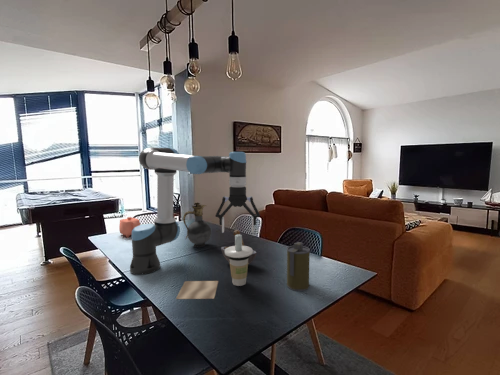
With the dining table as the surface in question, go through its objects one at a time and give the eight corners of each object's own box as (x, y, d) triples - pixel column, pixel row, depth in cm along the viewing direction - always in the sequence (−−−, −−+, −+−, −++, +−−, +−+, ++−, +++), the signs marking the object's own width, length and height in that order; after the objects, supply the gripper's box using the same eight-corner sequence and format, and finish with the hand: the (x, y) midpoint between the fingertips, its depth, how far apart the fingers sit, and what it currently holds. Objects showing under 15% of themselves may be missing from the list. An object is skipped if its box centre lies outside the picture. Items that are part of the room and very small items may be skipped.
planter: (220, 262, 150) (219, 227, 148) (248, 258, 156) (247, 224, 154) (227, 272, 136) (227, 234, 134) (257, 267, 142) (257, 231, 140)
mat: (175, 299, 110) (175, 298, 110) (184, 282, 126) (184, 281, 126) (214, 299, 110) (214, 298, 110) (218, 281, 126) (218, 280, 126)
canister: (293, 278, 129) (294, 238, 127) (313, 284, 122) (314, 242, 120) (281, 286, 121) (281, 244, 118) (302, 294, 114) (302, 249, 112)
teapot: (116, 233, 209) (115, 216, 208) (132, 230, 218) (131, 213, 217) (127, 239, 194) (126, 220, 193) (144, 235, 203) (143, 217, 202)
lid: (223, 258, 116) (222, 239, 115) (225, 248, 129) (225, 231, 128) (252, 257, 116) (252, 239, 115) (252, 247, 129) (252, 231, 128)
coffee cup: (247, 289, 119) (246, 257, 117) (226, 287, 120) (225, 255, 119) (251, 279, 128) (251, 249, 126) (231, 277, 130) (231, 248, 128)
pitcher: (213, 245, 180) (212, 201, 177) (188, 251, 168) (186, 205, 164) (205, 241, 188) (204, 199, 185) (180, 247, 176) (178, 202, 172)
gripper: (208, 187, 116) (209, 234, 118) (265, 187, 116) (265, 234, 118) (211, 185, 123) (211, 229, 125) (264, 185, 123) (264, 229, 126)
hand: (237, 231), depth 122 cm, fingers open, 13 cm apart
